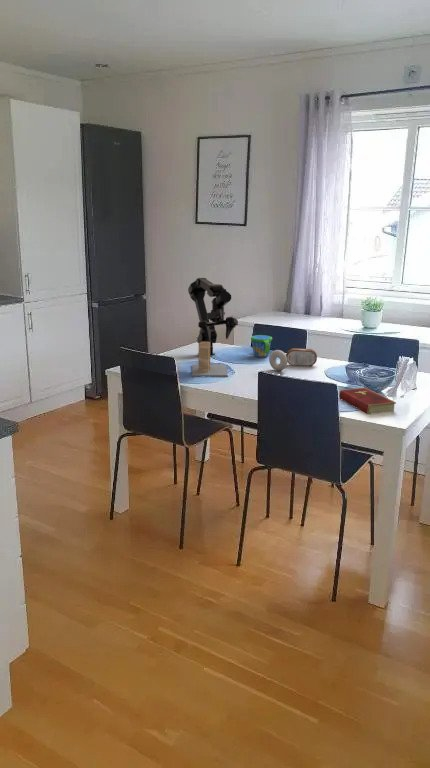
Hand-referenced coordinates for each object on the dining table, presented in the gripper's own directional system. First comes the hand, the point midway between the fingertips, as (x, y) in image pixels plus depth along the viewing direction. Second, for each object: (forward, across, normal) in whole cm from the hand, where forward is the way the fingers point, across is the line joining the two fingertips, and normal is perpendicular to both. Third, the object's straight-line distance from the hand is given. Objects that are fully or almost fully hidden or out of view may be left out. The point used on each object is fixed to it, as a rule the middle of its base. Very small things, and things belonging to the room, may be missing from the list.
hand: (217, 340), depth 294 cm
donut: (+16, +26, +10) cm, 32 cm away
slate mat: (+16, -2, -5) cm, 17 cm away
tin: (+11, +34, +23) cm, 43 cm away
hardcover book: (+41, +72, -18) cm, 84 cm away
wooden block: (+17, -3, -8) cm, 19 cm away
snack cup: (+1, +11, +31) cm, 33 cm away
